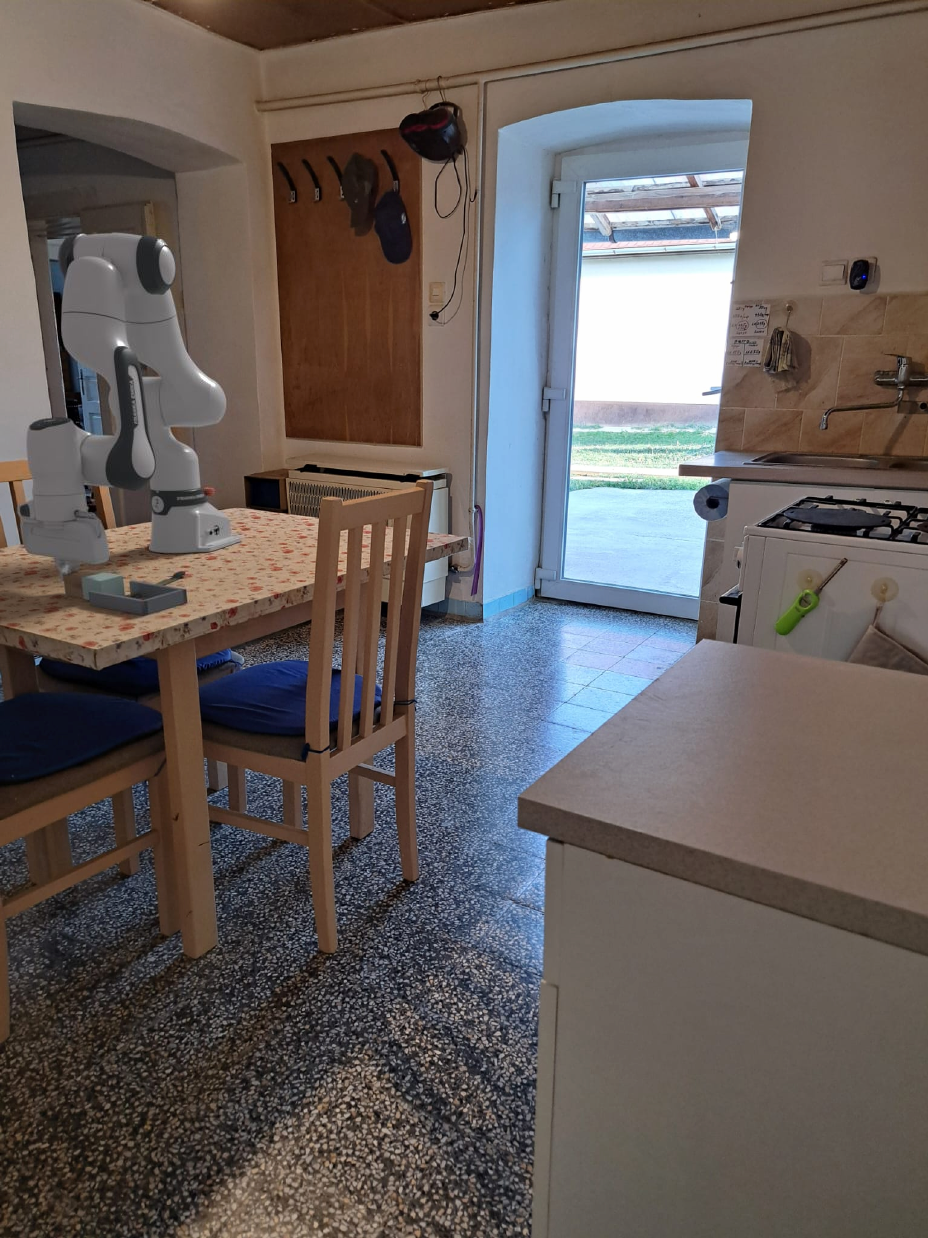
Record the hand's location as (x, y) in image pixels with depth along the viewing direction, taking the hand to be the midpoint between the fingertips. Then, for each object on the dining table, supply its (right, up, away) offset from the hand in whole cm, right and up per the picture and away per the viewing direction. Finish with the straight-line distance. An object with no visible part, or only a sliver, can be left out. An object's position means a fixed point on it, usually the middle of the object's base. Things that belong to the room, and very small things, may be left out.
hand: (70, 581), depth 159 cm
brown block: (+4, -2, -1) cm, 4 cm away
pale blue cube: (+8, -3, -3) cm, 9 cm away
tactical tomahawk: (+16, -2, +4) cm, 16 cm away
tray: (+16, -4, -7) cm, 18 cm away
